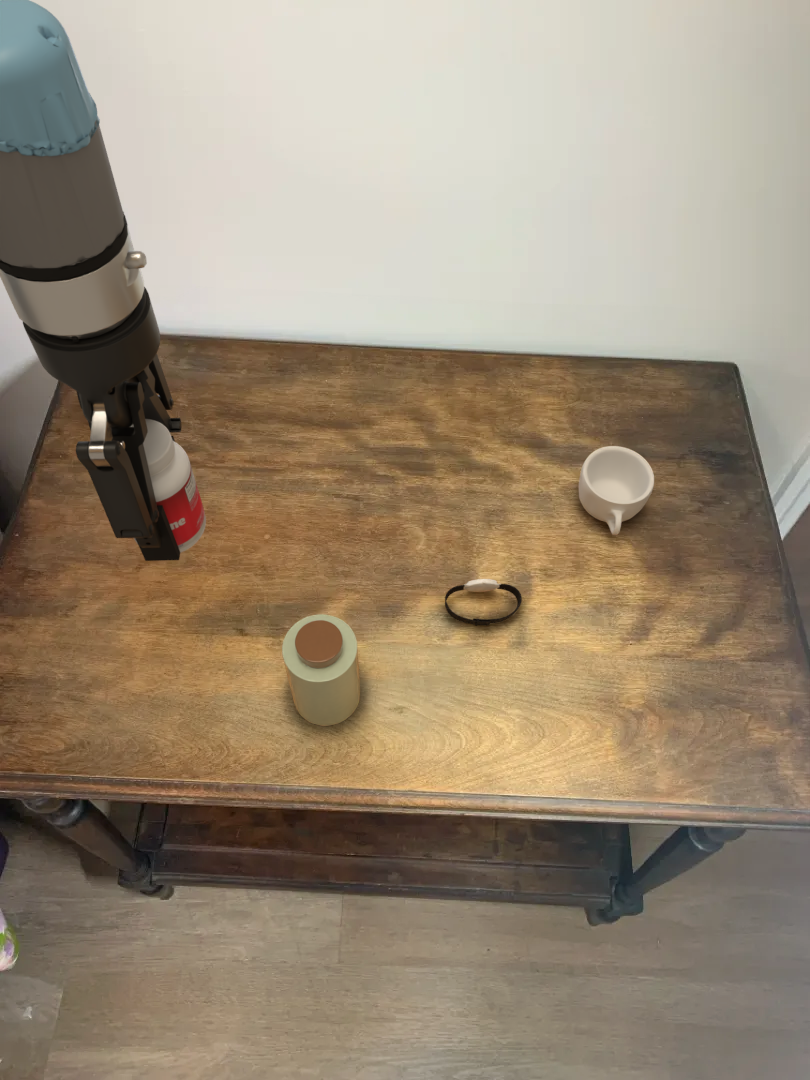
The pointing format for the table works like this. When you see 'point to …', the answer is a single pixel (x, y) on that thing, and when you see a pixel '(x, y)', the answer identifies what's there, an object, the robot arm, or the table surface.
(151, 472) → the pill bottle
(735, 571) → the table surface
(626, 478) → the teacup
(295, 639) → the canister
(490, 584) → the watch
